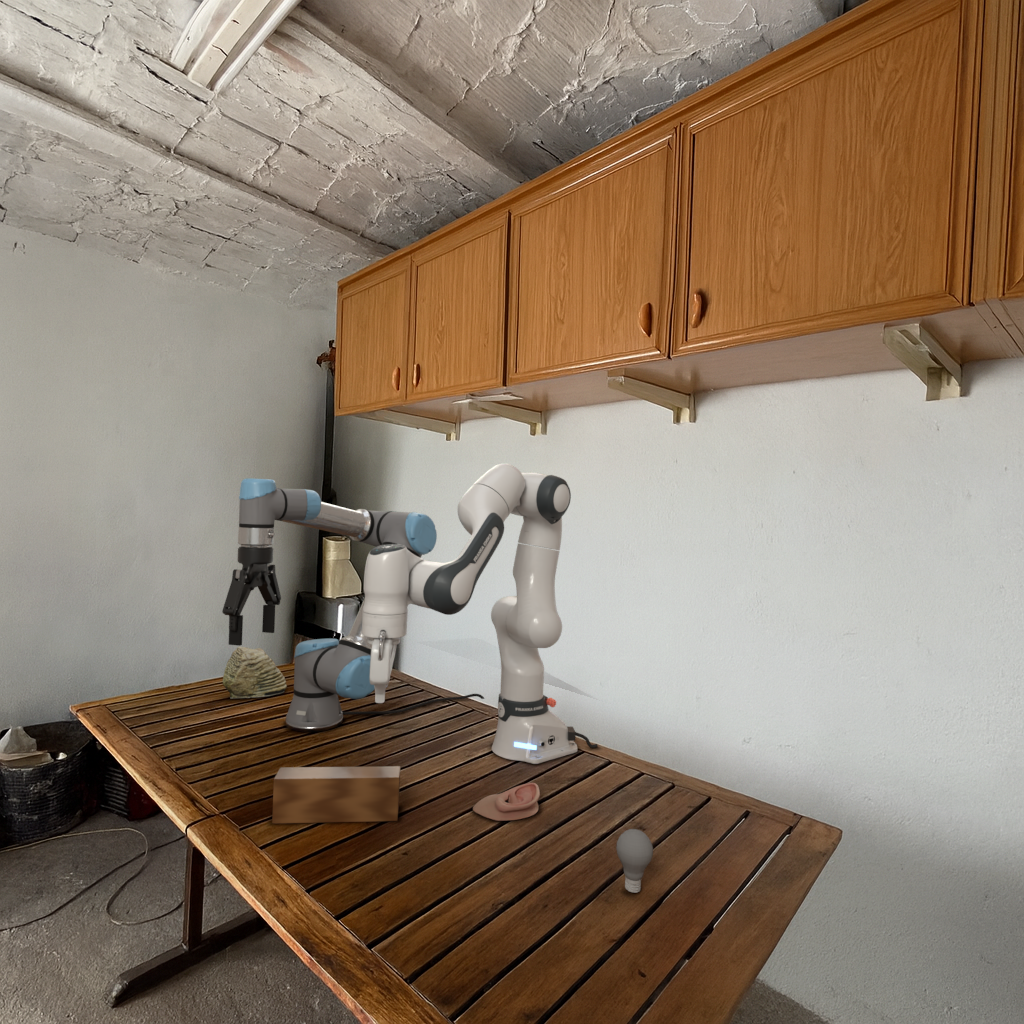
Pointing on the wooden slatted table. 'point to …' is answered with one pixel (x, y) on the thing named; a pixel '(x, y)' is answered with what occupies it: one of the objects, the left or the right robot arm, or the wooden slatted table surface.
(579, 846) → the wooden slatted table surface
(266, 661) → the fossil
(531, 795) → the anatomical model
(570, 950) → the wooden slatted table surface
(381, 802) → the bar
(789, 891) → the wooden slatted table surface
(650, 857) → the light bulb
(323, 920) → the wooden slatted table surface
